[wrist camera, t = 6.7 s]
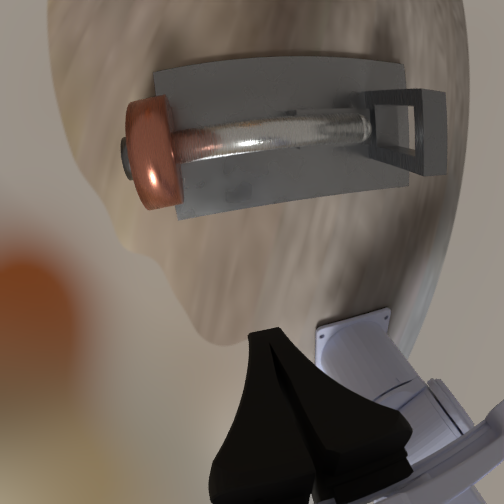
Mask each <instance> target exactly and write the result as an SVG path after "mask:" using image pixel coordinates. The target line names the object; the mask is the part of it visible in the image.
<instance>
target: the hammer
mask: <svg viewBox="0 0 504 504" xmlns="http://www.w3.org/2000/svg"><path fill="white" fill-rule="evenodd" d="M125 131H126V137H124V138H122V140H121V158H122V163H123V168H124V171H125V173H126V176H127V178H128V179H129V180H134V184H135V187H136V190H137V192H138V195H139V197H140V199H141V201H142V203H143V205H144V206H145V208H146V209H147V210H154V209H159V208H164V207H169V206H174V205H179V204H183V202H184V190H183V179H182V171H181V164H184V163H189V162H194V161H200V160H205V159H211V158H217V157H223V156H230V155H237V154H243V153H251V152H258V151H266V150H274V149H283V148H292V147H303V146H314V145H326V144H341V143H359V142H363V141H365V140H367V139H368V138H369V136H370V135H371V131H372V127H371V123H370V121H369V120H368V119H367V118H366V117H365V116H364V115H362V114H358V113H338V114H311V115H294V116H281V117H270V118H260V119H251V120H243V121H235V122H228V123H221V124H214V125H208V126H202V127H196V128H190V129H185V130H180V131H175V127H174V122H173V117H172V112H171V108H170V104H169V101H168V98H167V95H166V94H164V95H159V96H154V97H150V98H146V99H141V100H137V101H133V102H130V103H129V105H128V107H127V111H126V122H125Z"/></svg>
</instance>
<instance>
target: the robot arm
mask: <svg viewBox="0 0 504 504" xmlns="http://www.w3.org/2000/svg"><path fill="white" fill-rule="evenodd" d="M390 315H391V310H390V309H389V308H388V307H387V308H383V309H380V310H377V311H374V312H370V313H367V314H363V315H360V316H357V317H353V318H350V319H346V320H342V321H339V322H335V323H331V324H327V325H324V326H320V327H318V328H317V329H316V346H315V365H314V364H313V363H312V362H311V361H310V360H309V359H308V358H307V357H306V356H305V355H304V354H303V353H302V352H301V351H300V350H299V349H298V348H297V347H296V346H295V345H294V344H293V343H292V342H291V341H290V340H289V338H288V337H287V336H286V335H285V334H284V332H283V331H282V330H281V328H279V327H276V328H271V329H267V330H262V331H257V332H252V333H249V335H248V341H249V361H248V369H247V375H246V380H245V386H244V390H243V394H242V397H241V401H240V404H239V407H238V410H237V413H236V416H235V419H234V421H233V424H232V426H231V428H230V430H229V432H228V434H227V437H226V439H225V441H224V443H223V445H222V447H221V448H220V450H219V452H218V453H217V455H216V457H215V459H214V460H213V463H212V467H211V471H210V476H209V496H210V500H211V503H213V504H309V497H310V494H312V498H313V501H314V504H367V503H370V502H372V501H373V502H374V504H486V502H485V501H484V499H483V498H482V496H481V495H480V493H479V492H478V490H477V489H476V487H475V486H474V484H475V483H477V482H478V481H479V480H481V479H482V478H483V477H484V476H486V475H487V474H488V473H489V472H491V471H492V470H493V469H494V468H495V467H496V466H498V465H499V464H500V463H501V462H502V461H503V460H504V400H503V401H501V402H500V403H499V404H498V405H496V406H495V407H494V408H493V409H492V410H491V411H490V412H489V414H488V415H487V416H486V418H485V420H483V421H482V422H480V423H479V424H478V425H476V426H475V427H474V423H473V421H472V420H471V419H470V417H469V416H468V414H467V413H466V412H465V410H464V409H463V407H462V406H461V405H460V403H459V402H458V401H457V400H456V398H455V397H454V395H453V394H452V393H451V392H450V390H449V389H448V388H447V386H446V385H445V384H444V383H443V381H442V380H441V379H435V380H434V379H433V378H431V379H430V380H429V381H428V382H427V384H428V385H429V387H428V385H427V384H426V383H425V382H424V381H423V380H422V379H421V378H420V376H419V375H418V374H417V373H416V371H415V370H414V369H413V367H412V366H411V365H410V363H409V362H408V361H407V359H406V358H405V357H404V355H403V354H402V353H401V351H400V350H399V349H398V348H397V346H396V345H395V344H394V342H393V341H392V340H391V339H390V337H389V336H388V335H387V330H388V325H389V320H390ZM385 316H386V317H385ZM322 334H323V335H322ZM320 335H322V336H320Z"/></svg>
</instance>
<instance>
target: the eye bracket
mask: <svg viewBox="0 0 504 504" xmlns="http://www.w3.org/2000/svg"><path fill="white" fill-rule="evenodd" d="M153 76H154V84H155V92H156V96H159V95H164V94H166V95H167V98H168V101H169V104H170V108H171V112H172V117H173V122H174V127H175V131H180V130H185V129H190V128H196V127H202V126H208V125H214V124H221V123H228V122H235V121H243V120H251V119H260V118H270V117H281V116H294V115H311V114H338V113H358V114H362V115H364V116H365V117H366V118H367V119H368V120H369V121H370V123H371V127H372V131H371V135H370V136H369V138H368V139H367V140H365V141H363V142H359V143H341V144H326V145H314V146H303V147H292V148H283V149H274V150H266V151H258V152H251V153H243V154H237V155H230V156H223V157H217V158H211V159H205V160H200V161H194V162H189V163H184V164H181V171H182V179H183V190H184V202H183V204H179V205H175V208H176V212H177V217H178V220H183V219H189V218H194V217H199V216H205V215H210V214H216V213H221V212H227V211H233V210H238V209H244V208H250V207H256V206H263V205H269V204H275V203H282V202H288V201H295V200H301V199H308V198H315V197H322V196H330V195H337V194H345V193H352V192H360V191H369V190H377V189H386V188H395V187H404V186H409V171H410V172H413V173H416V174H419V175H421V176H435V175H446V172H447V111H446V95H445V92H440V91H434V90H427V89H406V81H405V72H404V64H398V63H391V62H383V61H375V60H366V59H355V58H342V57H320V56H281V57H259V58H245V59H234V60H224V61H216V62H208V63H201V64H195V65H189V66H183V67H177V68H172V69H167V70H162V71H157V72H153ZM408 106H414V117H415V150H413V149H409V122H408Z"/></svg>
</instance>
